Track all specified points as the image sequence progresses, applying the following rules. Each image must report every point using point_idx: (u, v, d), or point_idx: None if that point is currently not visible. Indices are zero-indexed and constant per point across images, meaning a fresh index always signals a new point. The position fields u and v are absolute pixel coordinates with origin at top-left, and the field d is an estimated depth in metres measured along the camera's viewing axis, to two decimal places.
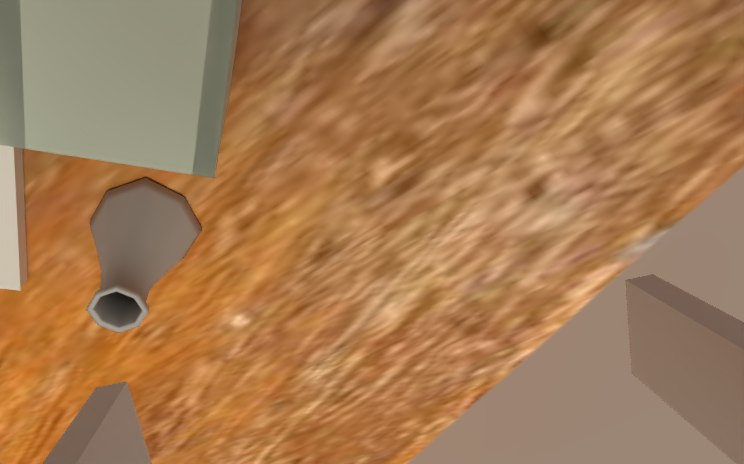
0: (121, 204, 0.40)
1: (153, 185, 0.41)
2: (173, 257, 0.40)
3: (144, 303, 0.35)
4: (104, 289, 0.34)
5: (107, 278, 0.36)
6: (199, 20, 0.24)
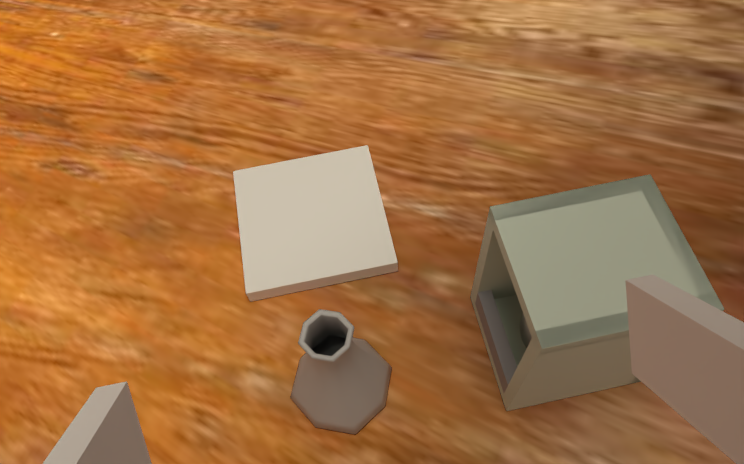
0: (368, 348, 0.43)
1: (388, 375, 0.43)
2: (345, 398, 0.39)
3: (340, 356, 0.35)
4: (345, 319, 0.36)
5: (340, 327, 0.37)
6: None
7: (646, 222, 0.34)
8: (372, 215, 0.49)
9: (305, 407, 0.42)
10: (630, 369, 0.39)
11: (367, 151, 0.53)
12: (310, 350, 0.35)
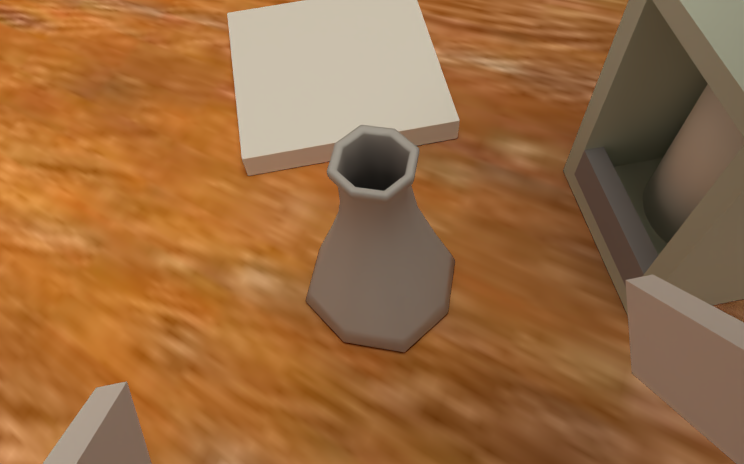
0: None
1: (451, 270, 0.29)
2: (395, 287, 0.25)
3: (397, 191, 0.21)
4: None
5: (391, 165, 0.23)
6: None
7: None
8: (420, 63, 0.35)
9: (329, 310, 0.28)
10: None
11: None
12: (347, 182, 0.21)
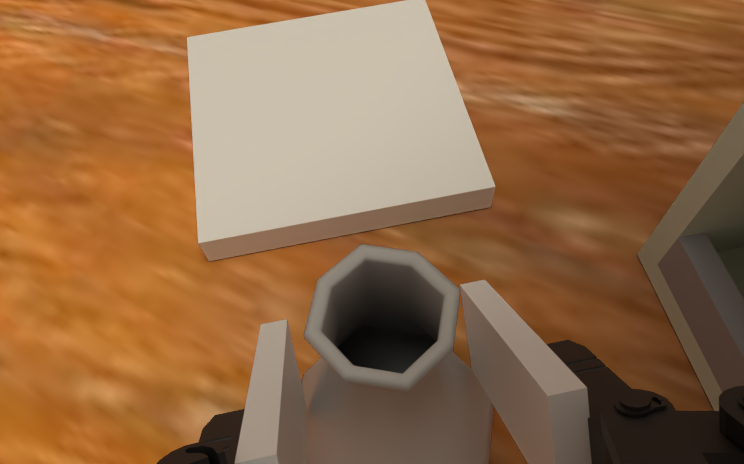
0: None
1: (490, 409, 0.21)
2: None
3: (426, 374, 0.12)
4: None
5: (411, 298, 0.15)
6: None
7: None
8: (440, 105, 0.26)
9: None
10: None
11: (424, 6, 0.30)
12: (339, 356, 0.12)
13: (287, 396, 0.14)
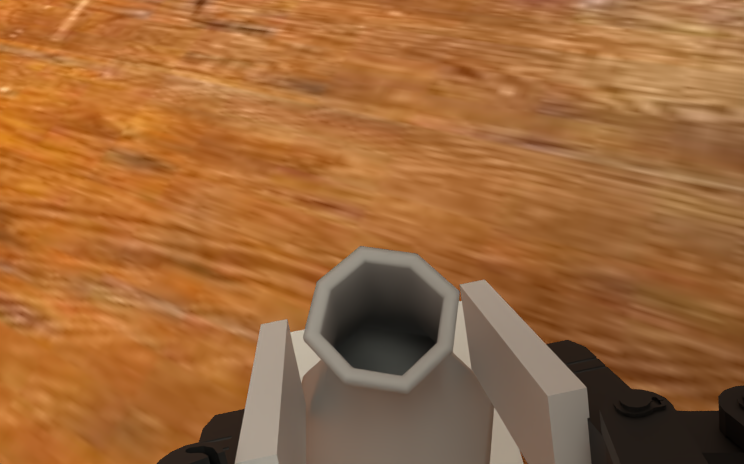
0: None
1: (490, 410, 0.21)
2: None
3: (426, 376, 0.12)
4: None
5: (410, 300, 0.14)
6: None
7: None
8: (492, 433, 0.30)
9: None
10: None
11: None
12: (338, 358, 0.12)
13: (287, 396, 0.14)
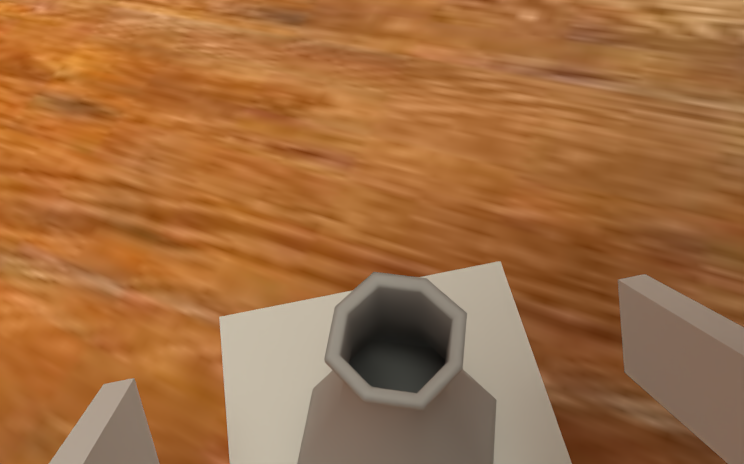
0: None
1: (492, 416, 0.22)
2: None
3: (439, 392, 0.13)
4: None
5: (419, 319, 0.16)
6: None
7: None
8: (533, 439, 0.22)
9: None
10: None
11: (501, 275, 0.25)
12: (358, 378, 0.13)
13: None
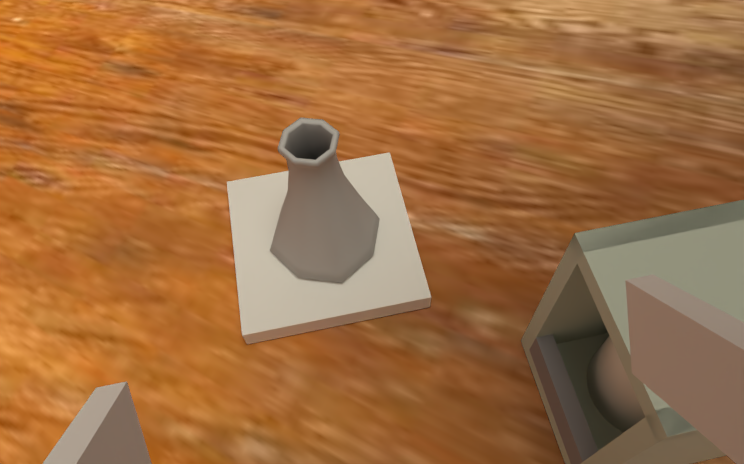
0: None
1: (376, 225, 0.40)
2: (330, 231, 0.36)
3: (324, 160, 0.31)
4: None
5: (323, 145, 0.34)
6: None
7: None
8: (398, 237, 0.40)
9: (286, 254, 0.38)
10: None
11: (389, 159, 0.44)
12: (291, 154, 0.31)
13: None
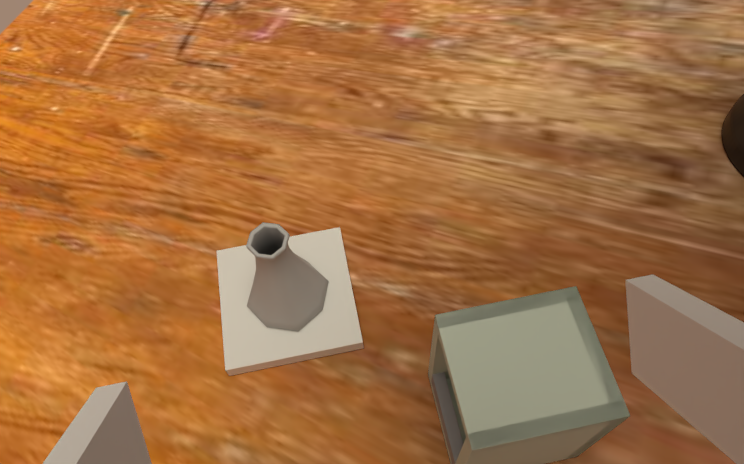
0: (309, 265, 0.54)
1: (325, 286, 0.54)
2: (287, 297, 0.50)
3: (278, 255, 0.46)
4: (283, 229, 0.47)
5: (280, 239, 0.48)
6: (574, 404, 0.37)
7: (569, 332, 0.40)
8: (341, 296, 0.54)
9: (258, 310, 0.52)
10: (562, 451, 0.44)
11: (339, 233, 0.58)
12: (255, 251, 0.46)
13: None
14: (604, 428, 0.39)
